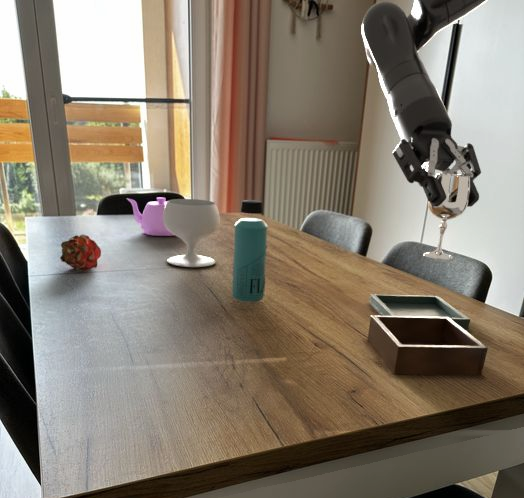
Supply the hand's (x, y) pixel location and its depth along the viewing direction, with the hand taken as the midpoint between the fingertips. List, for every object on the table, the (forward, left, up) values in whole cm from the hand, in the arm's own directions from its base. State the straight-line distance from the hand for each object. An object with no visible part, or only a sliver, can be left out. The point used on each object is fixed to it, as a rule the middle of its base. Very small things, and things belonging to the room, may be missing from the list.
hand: (456, 202), depth 75 cm
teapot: (+51, -94, -24) cm, 110 cm away
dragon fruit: (+65, -47, -24) cm, 84 cm away
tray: (-5, -18, -24) cm, 30 cm away
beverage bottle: (+28, -23, -24) cm, 43 cm away
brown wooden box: (+2, +2, -24) cm, 24 cm away
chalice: (+40, -56, -24) cm, 73 cm away
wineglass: (+1, -2, -8) cm, 9 cm away
